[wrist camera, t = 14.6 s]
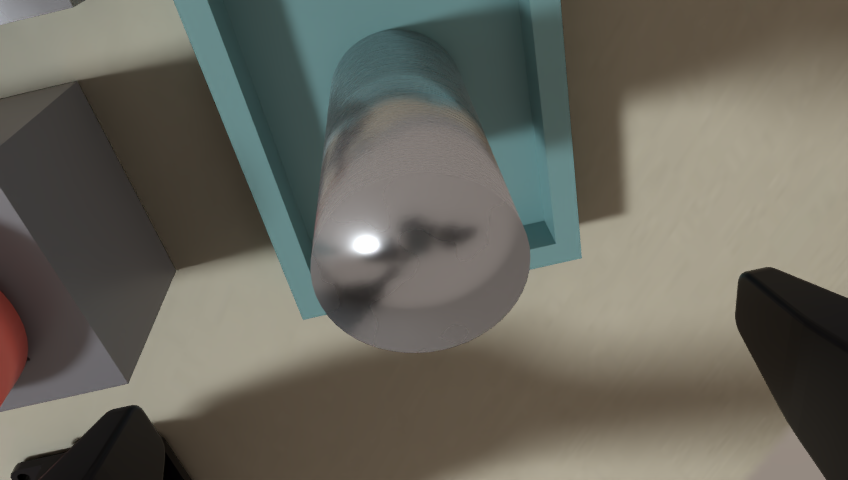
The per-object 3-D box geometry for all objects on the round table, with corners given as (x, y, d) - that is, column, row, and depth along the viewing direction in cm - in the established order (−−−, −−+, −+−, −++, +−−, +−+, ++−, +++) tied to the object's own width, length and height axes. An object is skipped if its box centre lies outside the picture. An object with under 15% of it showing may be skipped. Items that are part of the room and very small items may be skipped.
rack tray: (564, 227, 23) (581, 257, 21) (306, 284, 23) (302, 319, 21) (524, -187, 16) (544, -191, 14) (159, -97, 16) (136, -90, 14)
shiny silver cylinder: (473, 140, 20) (542, 327, 12) (351, 170, 20) (346, 371, 13) (448, 14, 18) (514, 148, 10) (312, 48, 18) (278, 204, 10)
